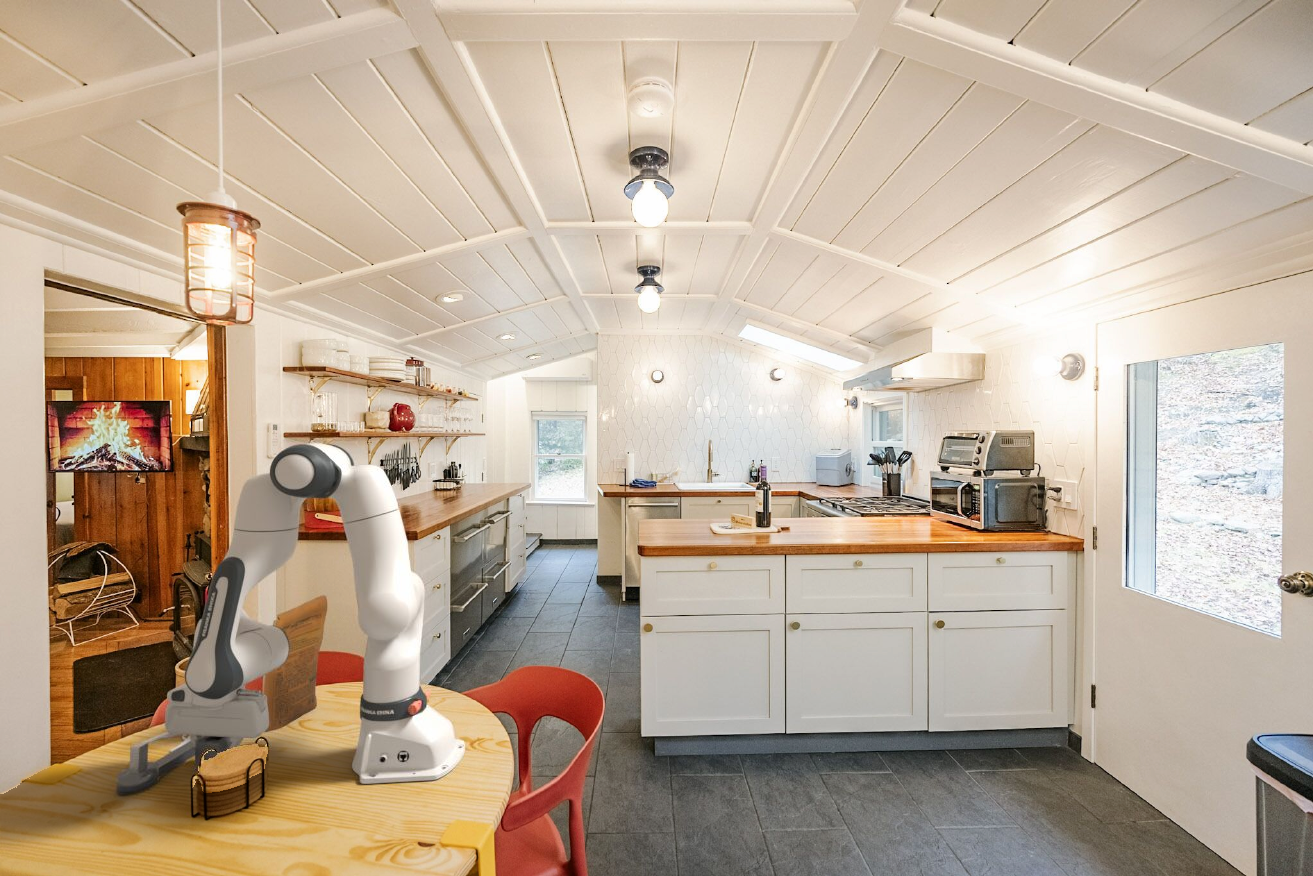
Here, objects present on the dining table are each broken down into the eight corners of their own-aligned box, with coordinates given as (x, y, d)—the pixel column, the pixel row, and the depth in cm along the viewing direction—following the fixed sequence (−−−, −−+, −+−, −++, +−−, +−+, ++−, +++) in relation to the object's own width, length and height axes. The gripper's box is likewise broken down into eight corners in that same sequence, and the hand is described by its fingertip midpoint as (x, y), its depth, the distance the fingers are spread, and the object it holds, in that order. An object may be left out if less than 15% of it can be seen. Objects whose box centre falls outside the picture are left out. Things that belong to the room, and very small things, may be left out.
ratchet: (239, 732, 129) (241, 697, 129) (136, 796, 105) (138, 753, 105) (215, 730, 129) (216, 696, 130) (107, 794, 106) (108, 752, 106)
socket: (237, 759, 118) (238, 730, 118) (217, 773, 113) (218, 743, 113) (215, 758, 118) (216, 729, 118) (194, 771, 113) (195, 742, 114)
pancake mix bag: (334, 701, 145) (337, 594, 146) (271, 738, 127) (275, 615, 127) (312, 698, 147) (315, 592, 147) (246, 735, 128) (250, 613, 128)
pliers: (131, 743, 121) (194, 711, 136) (131, 751, 121) (194, 718, 136) (172, 747, 120) (231, 714, 135) (172, 754, 120) (231, 720, 135)
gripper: (277, 684, 119) (275, 749, 118) (187, 679, 120) (185, 744, 120) (254, 697, 112) (252, 766, 112) (159, 692, 114) (157, 761, 113)
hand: (216, 755), depth 116 cm, fingers closed on socket, 5 cm apart
